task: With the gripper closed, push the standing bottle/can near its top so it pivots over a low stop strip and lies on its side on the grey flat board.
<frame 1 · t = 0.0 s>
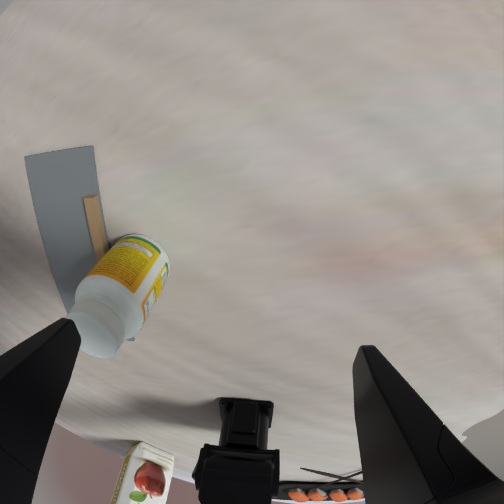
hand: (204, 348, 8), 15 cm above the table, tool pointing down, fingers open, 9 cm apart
supplement bottle: (142, 258, 25), on the table
grey flat board: (77, 255, 25), on the table
sushi plate: (343, 477, 50), on the table
juice carton: (152, 450, 47), on the table
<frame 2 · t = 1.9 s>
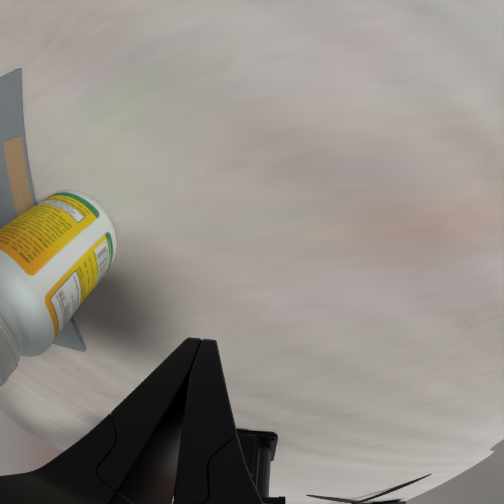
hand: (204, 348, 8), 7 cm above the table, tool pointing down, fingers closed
supplement bottle: (81, 230, 15), on the table
grey flat board: (6, 230, 15), on the table
sushi plate: (355, 499, 40), on the table
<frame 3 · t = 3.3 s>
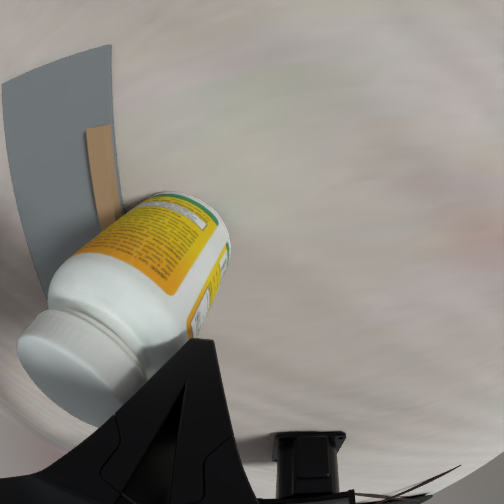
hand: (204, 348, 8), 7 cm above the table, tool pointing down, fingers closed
supplement bottle: (181, 237, 15), on the table, touching gripper
grey flat board: (71, 235, 16), on the table
sushi plate: (387, 495, 40), on the table
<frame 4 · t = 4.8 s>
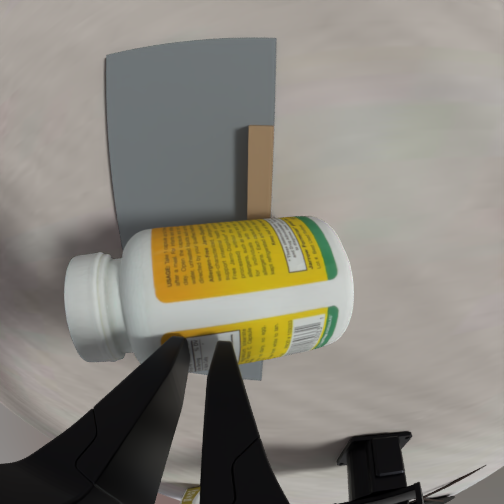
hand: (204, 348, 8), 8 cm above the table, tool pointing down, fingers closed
supplement bottle: (326, 278, 12), point 3 cm above the table, touching gripper, grey flat board
grey flat board: (191, 243, 16), on the table
sushi plate: (414, 496, 38), on the table
juice carton: (214, 492, 36), on the table
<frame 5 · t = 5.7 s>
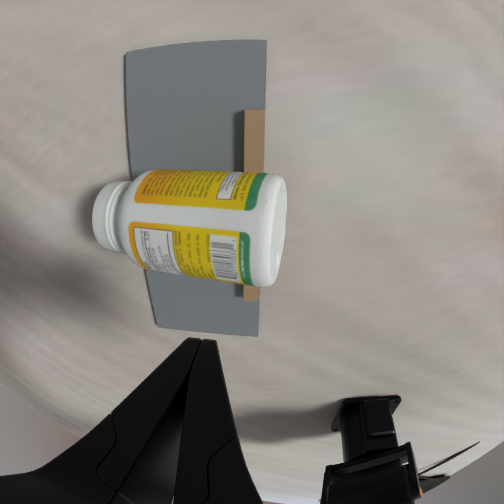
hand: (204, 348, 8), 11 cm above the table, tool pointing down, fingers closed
supplement bottle: (284, 231, 14), point 4 cm above the table, touching grey flat board
grey flat board: (196, 208, 18), on the table
sushi plate: (410, 475, 43), on the table
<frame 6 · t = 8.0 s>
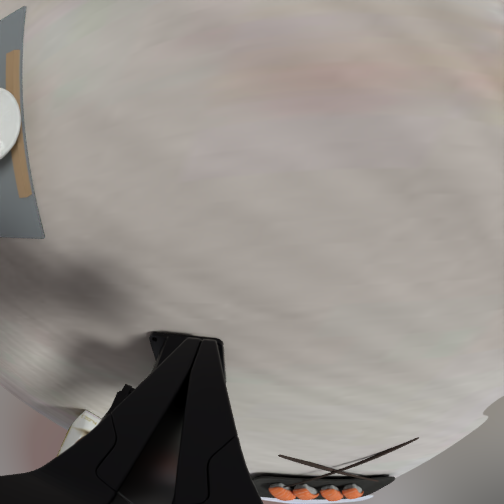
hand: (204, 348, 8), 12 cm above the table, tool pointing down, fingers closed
sushi plate: (337, 470, 42), on the table
juice carton: (100, 423, 38), on the table
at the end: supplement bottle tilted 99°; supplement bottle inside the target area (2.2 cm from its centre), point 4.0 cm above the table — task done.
